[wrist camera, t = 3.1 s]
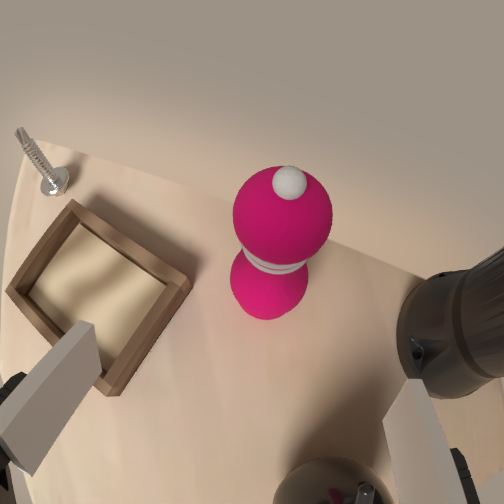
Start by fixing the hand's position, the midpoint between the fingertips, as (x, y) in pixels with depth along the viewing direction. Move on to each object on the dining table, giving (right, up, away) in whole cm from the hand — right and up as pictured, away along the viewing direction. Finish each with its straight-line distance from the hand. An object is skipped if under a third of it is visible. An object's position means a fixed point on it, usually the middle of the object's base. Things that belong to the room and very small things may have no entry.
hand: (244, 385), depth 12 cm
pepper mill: (+2, +1, +22) cm, 22 cm away
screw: (-27, +14, +27) cm, 41 cm away
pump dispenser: (+7, -19, +13) cm, 24 cm away
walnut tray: (-18, 0, +21) cm, 27 cm away
